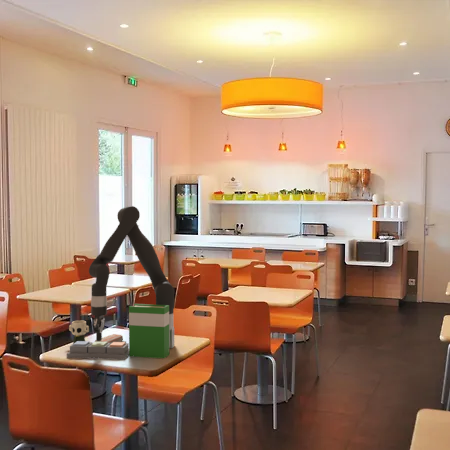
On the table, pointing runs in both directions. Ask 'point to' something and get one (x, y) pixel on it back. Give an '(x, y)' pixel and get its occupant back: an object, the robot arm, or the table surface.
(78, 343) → the slate button
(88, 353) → the button panel
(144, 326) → the green cereal box
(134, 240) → the robot arm
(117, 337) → the packaged product
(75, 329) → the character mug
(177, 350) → the table surface
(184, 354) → the table surface
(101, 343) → the sage button
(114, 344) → the terracotta button
